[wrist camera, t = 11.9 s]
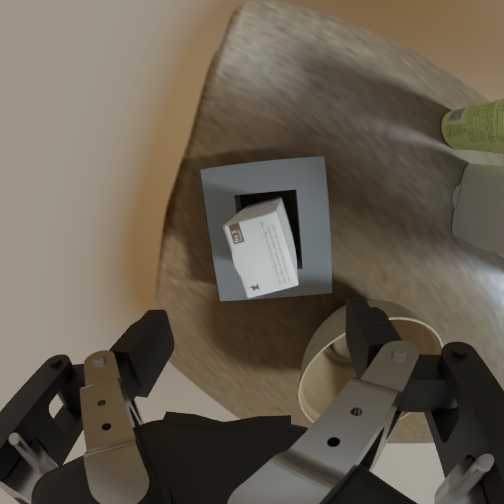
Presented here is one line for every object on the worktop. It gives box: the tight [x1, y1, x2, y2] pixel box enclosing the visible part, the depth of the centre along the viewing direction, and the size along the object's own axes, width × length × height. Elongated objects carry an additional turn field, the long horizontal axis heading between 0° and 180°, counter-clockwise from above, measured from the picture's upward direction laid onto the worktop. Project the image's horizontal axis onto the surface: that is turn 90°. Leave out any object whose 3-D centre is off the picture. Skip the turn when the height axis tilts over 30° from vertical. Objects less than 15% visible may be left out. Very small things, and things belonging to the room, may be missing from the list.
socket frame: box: [200, 156, 332, 301], centre depth 30 cm, size 12×14×4 cm
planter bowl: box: [298, 300, 444, 423], centre depth 30 cm, size 16×16×11 cm
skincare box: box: [223, 196, 299, 298], centre depth 26 cm, size 6×4×12 cm
